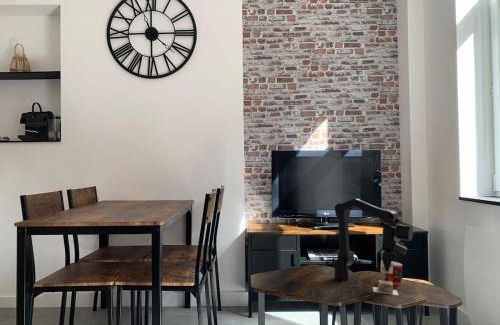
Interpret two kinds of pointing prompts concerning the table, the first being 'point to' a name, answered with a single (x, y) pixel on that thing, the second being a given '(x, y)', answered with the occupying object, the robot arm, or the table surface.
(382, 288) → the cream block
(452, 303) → the table surface
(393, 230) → the robot arm
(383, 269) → the oak cube
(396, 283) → the canned food
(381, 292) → the build mat
